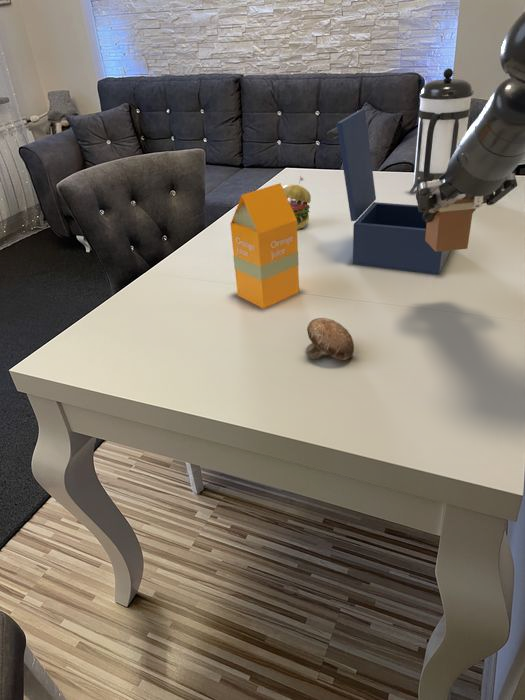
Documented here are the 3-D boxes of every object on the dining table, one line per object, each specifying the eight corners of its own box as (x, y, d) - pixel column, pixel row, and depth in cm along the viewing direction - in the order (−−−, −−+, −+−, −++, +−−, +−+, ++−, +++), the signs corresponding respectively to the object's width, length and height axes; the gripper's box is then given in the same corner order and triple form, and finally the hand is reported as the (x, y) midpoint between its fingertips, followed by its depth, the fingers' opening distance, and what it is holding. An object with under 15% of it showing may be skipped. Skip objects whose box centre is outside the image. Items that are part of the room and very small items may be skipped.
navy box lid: (364, 108, 105) (341, 113, 107) (341, 122, 95) (316, 126, 97) (376, 199, 113) (354, 201, 116) (356, 220, 103) (332, 222, 105)
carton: (455, 237, 86) (461, 187, 82) (468, 249, 82) (475, 197, 78) (424, 240, 86) (429, 190, 82) (435, 252, 82) (441, 200, 78)
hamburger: (274, 228, 130) (271, 178, 124) (295, 220, 134) (293, 171, 127) (296, 235, 125) (294, 184, 119) (317, 227, 129) (317, 176, 122)
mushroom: (288, 347, 78) (312, 313, 76) (301, 339, 85) (323, 307, 84) (332, 380, 77) (358, 346, 75) (341, 369, 84) (365, 337, 82)
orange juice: (237, 298, 100) (226, 191, 89) (272, 282, 104) (266, 179, 94) (264, 311, 95) (255, 199, 84) (300, 295, 99) (296, 186, 88)
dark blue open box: (451, 250, 112) (456, 208, 107) (438, 277, 101) (444, 232, 97) (371, 242, 119) (373, 202, 114) (352, 266, 108) (353, 223, 103)
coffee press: (395, 187, 151) (403, 69, 135) (448, 181, 153) (462, 63, 137) (421, 205, 137) (433, 75, 121) (479, 198, 139) (499, 68, 123)
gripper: (538, 121, 68) (484, 189, 85) (427, 131, 68) (395, 197, 84) (551, 173, 66) (493, 232, 83) (438, 184, 66) (402, 241, 83)
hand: (444, 215), depth 84 cm, fingers closed on carton, 5 cm apart
